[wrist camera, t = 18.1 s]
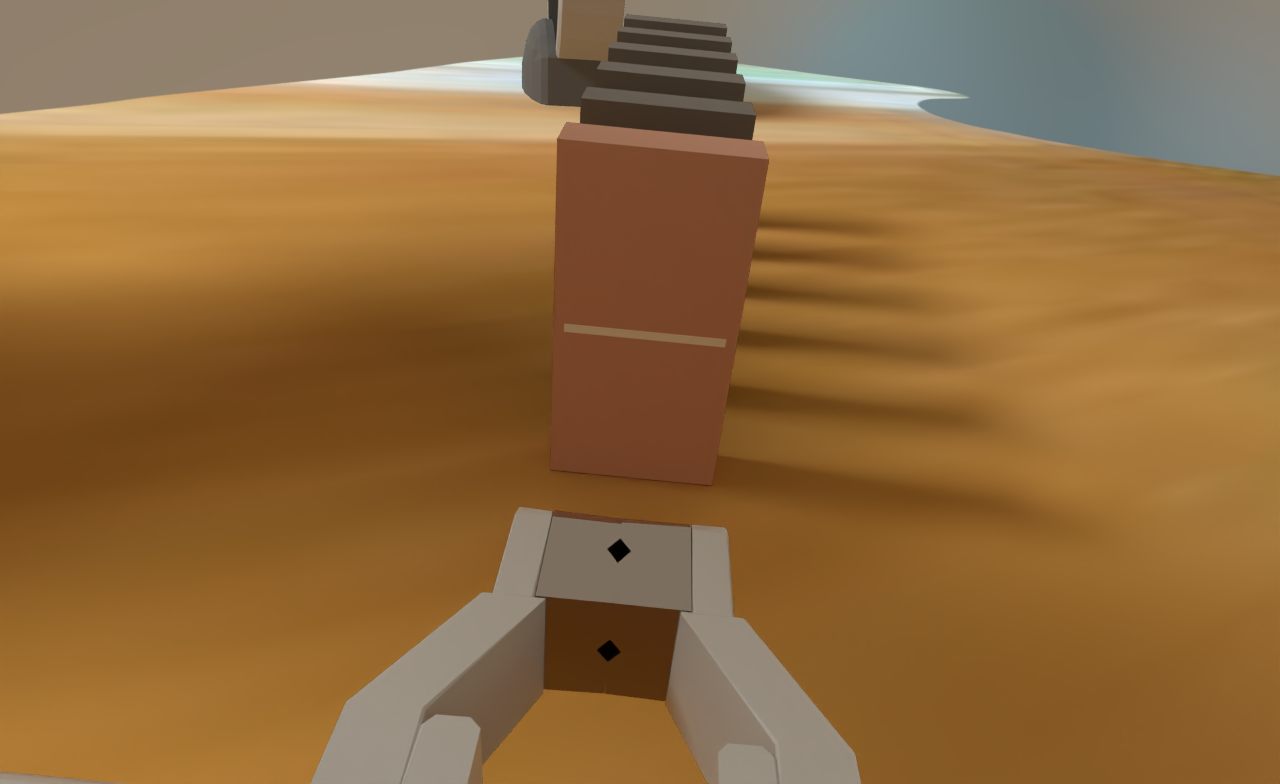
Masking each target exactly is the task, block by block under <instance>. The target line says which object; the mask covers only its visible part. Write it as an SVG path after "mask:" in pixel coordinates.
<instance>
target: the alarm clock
mask: <svg viewBox="0 0 1280 784" xmlns="http://www.w3.org/2000/svg"><path fill="white" fill-rule="evenodd" d="M624 6H625V0H548V19H541V20H539V21H537V22H536V23H535V24H534V25H533V26H532V28H531V30H530V32H529V35H528V37H527V40H526V46H525V51H524V56H523V61H522V88H523V90H524V92H525V93H526V94H527V95H528V96H529V97H530V98H531V99H533V100H535V101H537V102H539V103H541V104H545V105H556V106H576V107H581V97H582V95H583V93H584V92H585V90H586V88H587V87H596V76H597V68H598V66H599V64H600V62H601V61H608V49H609V46H610V44H611V42H612V41H614V42H617V33H618V30H619V28H620V26H623V18H624V17H623V16H624Z"/></svg>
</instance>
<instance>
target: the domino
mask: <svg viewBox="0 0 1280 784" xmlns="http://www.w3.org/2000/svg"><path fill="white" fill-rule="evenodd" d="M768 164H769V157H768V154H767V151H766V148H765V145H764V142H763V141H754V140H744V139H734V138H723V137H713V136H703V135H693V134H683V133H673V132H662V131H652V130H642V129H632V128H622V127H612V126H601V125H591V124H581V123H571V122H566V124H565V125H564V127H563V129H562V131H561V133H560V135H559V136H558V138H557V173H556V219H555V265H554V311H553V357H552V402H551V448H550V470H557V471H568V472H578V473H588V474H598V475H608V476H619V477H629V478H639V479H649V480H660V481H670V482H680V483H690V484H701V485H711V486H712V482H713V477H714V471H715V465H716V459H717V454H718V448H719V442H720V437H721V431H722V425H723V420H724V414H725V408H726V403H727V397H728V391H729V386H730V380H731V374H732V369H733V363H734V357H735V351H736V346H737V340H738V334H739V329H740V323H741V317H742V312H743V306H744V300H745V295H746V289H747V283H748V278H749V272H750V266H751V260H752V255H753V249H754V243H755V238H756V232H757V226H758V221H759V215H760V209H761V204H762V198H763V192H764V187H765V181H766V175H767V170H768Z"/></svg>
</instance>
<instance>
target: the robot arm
mask: <svg viewBox="0 0 1280 784" xmlns="http://www.w3.org/2000/svg"><path fill="white" fill-rule="evenodd" d="M605 685H606V686H605ZM543 689H547V690H561V691H576V692H590V693H604V694H612V695H619V696H627V697H635V698H643V699H651V700H659V701H666V702H665V705H666V707H667V709H668V711H669V712H670V714H671V716H672V718H673V720H674V722H675V724H676V726H677V727H678V729H679V731H680V733H681V735H682V737H683V739H684V740H685V742H686V744H687V746H688V748H689V750H690V752H691V753H692V755H693V757H694V759H695V761H696V763H697V765H698V766H699V768H700V770H701V772H702V774H703V776H704V778H705V779H706V781H707V783H708V784H861V781H860V776H859V771H858V766H857V761H856V756H855V753H854V752H853V750H852V749H851V748H850V747H849V745H848V744H847V743H846V742H845V741H844V739H843V738H842V737H841V736H840V734H839V733H838V732H837V731H836V730H835V728H834V727H833V726H832V725H831V723H830V722H829V721H828V720H827V719H826V717H825V716H824V715H823V714H822V712H821V711H820V710H819V709H818V708H817V706H816V705H815V704H814V703H813V701H812V700H811V699H810V698H809V697H808V695H807V694H806V693H805V692H804V690H803V689H802V688H801V687H800V685H799V684H798V683H797V682H796V681H795V679H794V678H793V677H792V676H791V674H790V673H789V672H788V671H787V670H786V668H785V667H784V666H783V665H782V663H781V662H780V661H779V660H778V659H777V657H776V656H775V655H774V654H773V652H772V651H771V650H770V649H769V648H768V646H767V645H766V644H765V643H764V641H763V640H762V639H761V638H760V637H759V635H758V634H757V633H756V632H755V630H754V629H753V628H752V627H751V625H750V624H749V623H748V622H747V621H746V619H745V618H737V617H734V608H733V594H732V580H731V566H730V551H729V537H728V531H727V530H726V528H725V527H714V526H702V525H691V526H690V525H686V524H675V523H664V522H653V521H643V520H632V519H619V518H611V517H603V516H595V515H587V514H579V513H571V512H563V511H548V510H540V509H533V508H525V507H519V508H518V510H517V512H516V513H515V515H514V519H513V522H512V526H511V529H510V533H509V536H508V540H507V543H506V547H505V550H504V554H503V558H502V561H501V565H500V568H499V572H498V575H497V579H496V582H495V586H494V589H493V593H487V592H481V593H480V594H479V595H478V596H476V597H475V598H474V599H473V600H471V601H470V602H469V603H468V604H467V605H465V606H464V607H463V608H462V609H460V610H459V611H458V612H457V613H455V614H454V615H453V616H452V617H450V618H449V619H448V620H447V621H445V622H444V623H443V624H442V625H440V626H439V627H438V628H437V629H436V630H434V631H433V632H432V633H431V634H429V635H428V636H427V637H426V638H424V639H423V640H422V641H421V642H419V643H418V644H417V645H416V646H414V647H413V648H412V649H411V650H409V651H408V652H407V653H406V654H405V655H403V656H402V657H401V658H400V659H398V660H397V661H396V662H395V663H393V664H392V665H391V666H390V667H388V668H387V669H386V670H385V671H383V672H382V673H381V674H380V675H378V676H377V677H376V678H375V679H374V680H372V681H371V682H370V683H369V684H367V685H366V686H365V687H364V688H362V689H361V690H360V691H359V692H357V693H356V694H355V695H354V696H352V697H351V698H350V699H349V700H347V701H346V703H345V705H344V708H343V710H342V712H341V714H340V717H339V719H338V721H337V724H336V726H335V728H334V731H333V733H332V735H331V738H330V740H329V742H328V744H327V747H326V749H325V751H324V754H323V756H322V758H321V761H320V763H319V765H318V768H317V770H316V772H315V774H314V777H313V779H312V781H311V784H483V771H482V765H483V764H484V763H485V762H486V760H487V759H488V758H489V757H490V756H491V754H492V753H493V752H494V751H495V750H496V748H497V747H498V746H499V745H500V744H501V743H502V741H503V740H504V739H505V738H506V737H507V735H508V734H509V733H510V732H511V731H512V730H513V728H514V727H515V726H516V725H517V724H518V722H519V721H520V720H521V719H522V718H523V716H524V715H525V714H526V713H527V712H528V711H529V709H530V708H531V707H532V706H533V705H534V703H535V702H536V701H537V700H538V699H539V697H540V696H541V695H542V694H543ZM0 784H124V783H113V782H103V781H93V780H83V779H73V778H63V777H53V776H43V775H33V774H23V773H13V772H3V771H0Z"/></svg>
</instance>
